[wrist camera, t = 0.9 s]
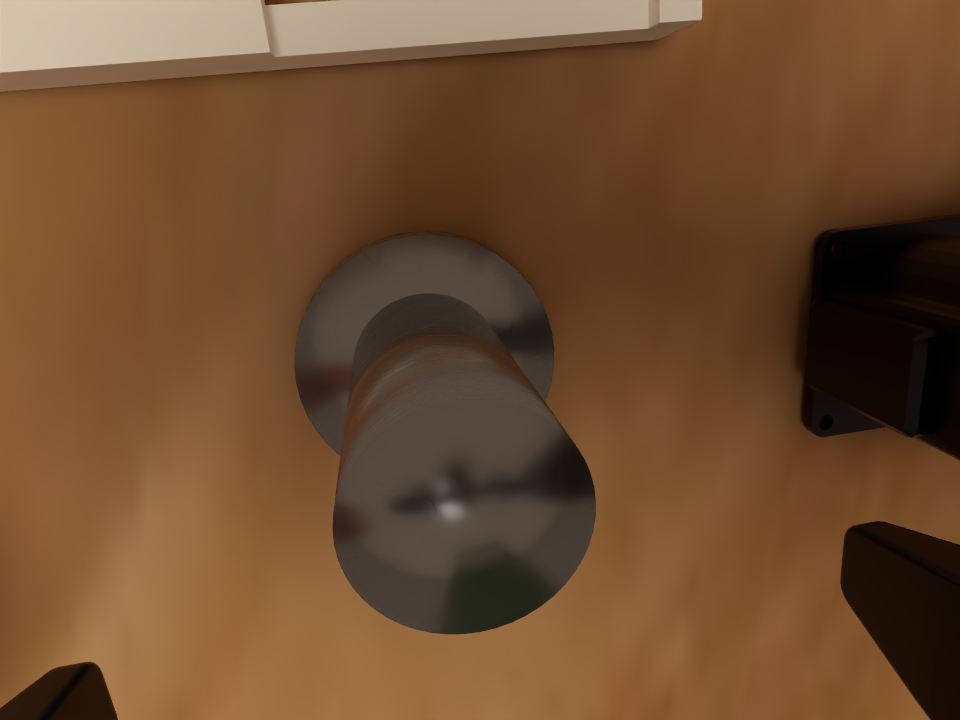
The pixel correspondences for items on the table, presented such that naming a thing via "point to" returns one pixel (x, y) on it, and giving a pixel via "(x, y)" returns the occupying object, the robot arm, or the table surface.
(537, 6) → the keyhole dock
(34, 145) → the table surface
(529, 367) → the dark grey rounded piece
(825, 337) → the robot arm
